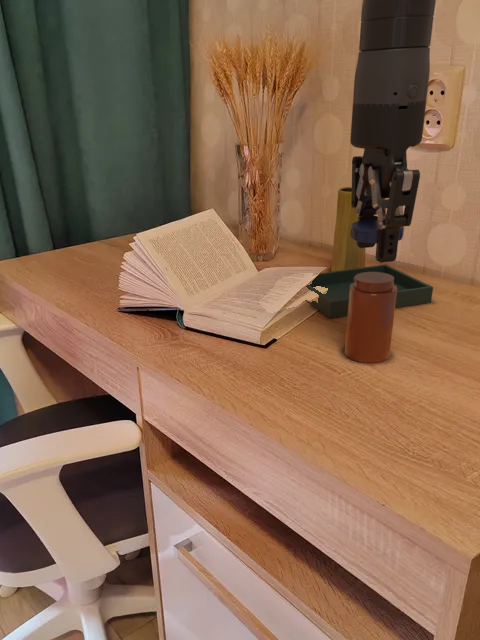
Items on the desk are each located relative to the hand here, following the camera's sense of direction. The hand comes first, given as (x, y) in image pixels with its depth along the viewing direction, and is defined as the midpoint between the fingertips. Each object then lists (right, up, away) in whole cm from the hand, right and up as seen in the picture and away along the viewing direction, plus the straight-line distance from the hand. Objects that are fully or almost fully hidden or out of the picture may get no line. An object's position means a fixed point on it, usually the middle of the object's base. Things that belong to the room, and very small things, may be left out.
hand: (375, 253), depth 71 cm
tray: (+5, -2, +25) cm, 25 cm away
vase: (+6, +5, +37) cm, 38 cm away
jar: (+1, -12, +6) cm, 13 cm away
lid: (0, +3, -1) cm, 3 cm away
